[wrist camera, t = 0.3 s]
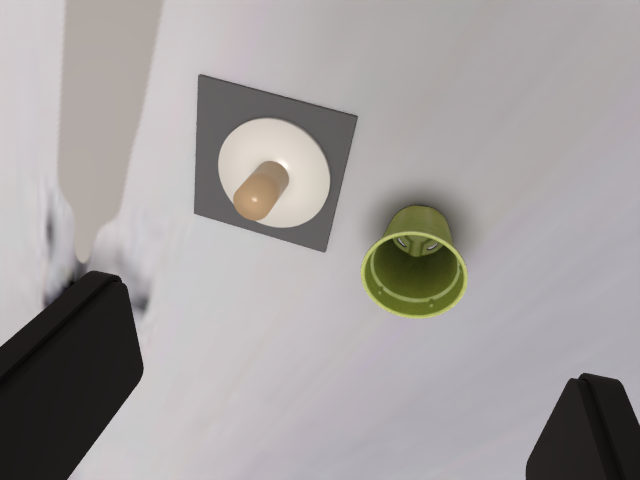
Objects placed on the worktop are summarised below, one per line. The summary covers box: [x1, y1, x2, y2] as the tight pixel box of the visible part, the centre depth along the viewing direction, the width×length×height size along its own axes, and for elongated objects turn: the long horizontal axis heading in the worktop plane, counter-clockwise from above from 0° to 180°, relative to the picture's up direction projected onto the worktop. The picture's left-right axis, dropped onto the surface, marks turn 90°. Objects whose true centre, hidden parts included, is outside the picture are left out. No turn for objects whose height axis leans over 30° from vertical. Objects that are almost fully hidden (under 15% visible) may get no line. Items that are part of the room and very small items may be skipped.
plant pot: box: [361, 205, 468, 318], centre depth 44 cm, size 9×9×9 cm
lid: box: [218, 117, 331, 228], centre depth 45 cm, size 12×12×7 cm
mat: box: [194, 75, 358, 253], centre depth 48 cm, size 16×16×1 cm
